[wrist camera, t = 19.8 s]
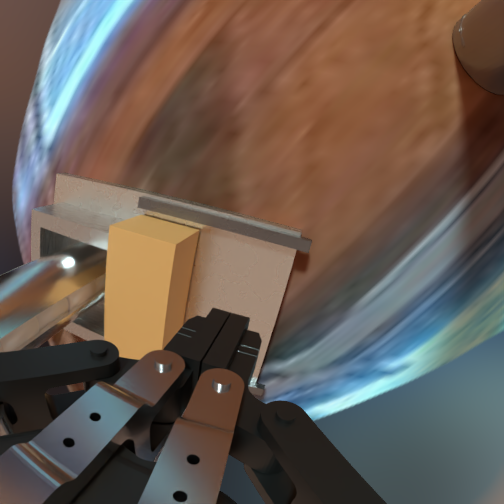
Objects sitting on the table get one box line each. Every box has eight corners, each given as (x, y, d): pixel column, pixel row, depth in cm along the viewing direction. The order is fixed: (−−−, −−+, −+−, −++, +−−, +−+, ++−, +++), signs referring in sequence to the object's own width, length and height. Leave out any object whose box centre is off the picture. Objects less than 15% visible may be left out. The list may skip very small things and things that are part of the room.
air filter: (109, 305, 32) (-58, 445, 8) (70, 269, 32) (-105, 372, 8) (132, 262, 30) (-79, 405, 7) (89, 224, 30) (-125, 314, 6)
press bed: (312, 232, 28) (314, 251, 22) (263, 385, 33) (254, 424, 27) (65, 172, 31) (25, 177, 25) (60, 309, 36) (29, 329, 30)
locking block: (199, 230, 28) (175, 244, 23) (178, 355, 32) (158, 385, 27) (141, 214, 29) (109, 225, 23) (130, 336, 33) (105, 362, 27)
